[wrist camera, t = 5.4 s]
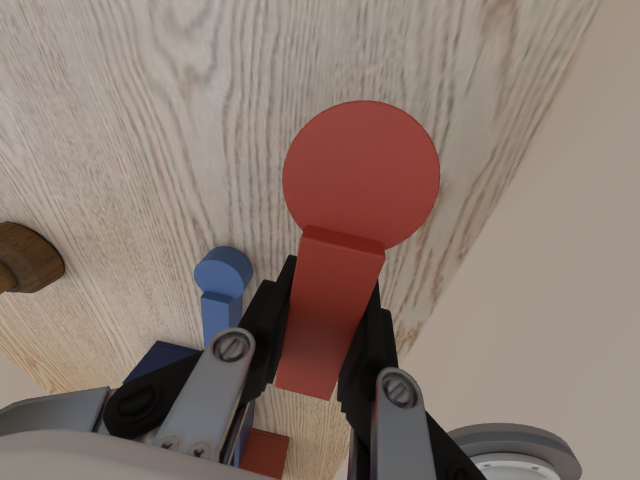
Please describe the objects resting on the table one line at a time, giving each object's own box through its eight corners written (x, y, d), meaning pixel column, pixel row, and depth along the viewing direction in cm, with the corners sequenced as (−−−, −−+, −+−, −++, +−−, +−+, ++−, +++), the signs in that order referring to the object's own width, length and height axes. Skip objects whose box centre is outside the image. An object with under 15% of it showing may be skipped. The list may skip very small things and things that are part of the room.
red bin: (279, 474, 45) (270, 514, 40) (213, 457, 45) (198, 495, 41) (289, 437, 37) (280, 482, 33) (210, 418, 37) (190, 460, 33)
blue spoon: (248, 337, 26) (237, 361, 24) (210, 327, 26) (195, 351, 24) (254, 252, 21) (240, 273, 18) (205, 241, 21) (185, 260, 18)
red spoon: (352, 349, 13) (350, 407, 10) (273, 330, 13) (253, 382, 11) (446, 117, 7) (488, 125, 5) (308, 86, 7) (283, 79, 5)
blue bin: (252, 425, 36) (238, 469, 32) (172, 405, 37) (147, 446, 32) (258, 365, 29) (241, 412, 24) (157, 340, 29) (122, 383, 25)
